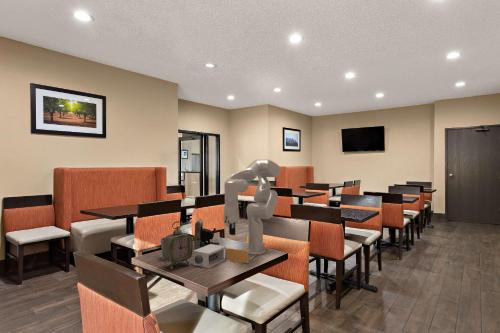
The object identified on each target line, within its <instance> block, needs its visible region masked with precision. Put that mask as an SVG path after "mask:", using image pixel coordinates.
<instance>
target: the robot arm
mask: <svg viewBox="0 0 500 333" xmlns="http://www.w3.org/2000/svg"><path fill="white" fill-rule="evenodd" d="M281 173H282V170H281V167H280V165H279V164H277V163H276V162H275V161H273V160H270V159H255V160H253V161H252V162H251V163H250V164H249V165H248V166H247V167H245V168H244V169H243V170H242V169H241V170H240V171H238V172H235V173H232V174H231V175H230V176H229V177H228V178H227V179H226V180H225V181H224V208H223V223H224V224H225V226H226V227H228V233H229V236H235V235H236V227H237V223H238V222H239V221H240V209H239V208H240V207H239V193H245V192H247V191H248V189H249V188H250V185H249V182H251V181H254V180H255V179H256V178H257V179H258V184H257V187H256V190H255V192H254V194H253V201H254V202H251V203H249V204H248V205H247V206H246V216H247V231H248V232H247V242H248V243H247V248H246V249H245V250H247V251H249V255H254V256H255V255H263V254H265V253H266V249H265V248H264V247H265V245H266V244H265V243H264V225H263V224H264V223H263V222H262V220H270V219H271V218H272V217H273V215H274V213H275V209H276V206H277V203H278V199H279V198H278V193H277V191H276V190H275V189H271V187H272V185H271V183H270V180H269V179H268V178H279V177H280V175H281Z"/></svg>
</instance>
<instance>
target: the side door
mask: <svg viewBox="0 0 500 333" xmlns="http://www.w3.org/2000/svg"><path fill="white" fill-rule="evenodd" d="M249 255H250V254H249V251H247V250H246V249H237V248H236V249H235V248H229V247H228V248H227V247H226V248H225V249H224V258H225V261H231V262H238V263H246V264H248V263H249Z"/></svg>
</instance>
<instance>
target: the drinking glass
mask: <svg viewBox="0 0 500 333" xmlns="http://www.w3.org/2000/svg"><path fill="white" fill-rule="evenodd" d="M163 240H164V237H161V239H160V246H161V257H162V258H161V259H162V260H163V261H167V260H165V259H164V255H163ZM167 262H168V261H167Z"/></svg>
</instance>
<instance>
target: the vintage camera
mask: <svg viewBox="0 0 500 333" xmlns="http://www.w3.org/2000/svg"><path fill="white" fill-rule="evenodd" d="M216 230H217V228H216V227H214V228H213V230H211V229H209V228H204V221H203V220H202V219H199V220H197V221H196V222H195V224H194V239H193V240H194V244H193V251H194V250H196V249H199V248H202V247H204V246H207V245H210V244H213V245H219V246H220V243H219V242H213V241H211V240H213V239H214V237H215V233H216Z"/></svg>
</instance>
